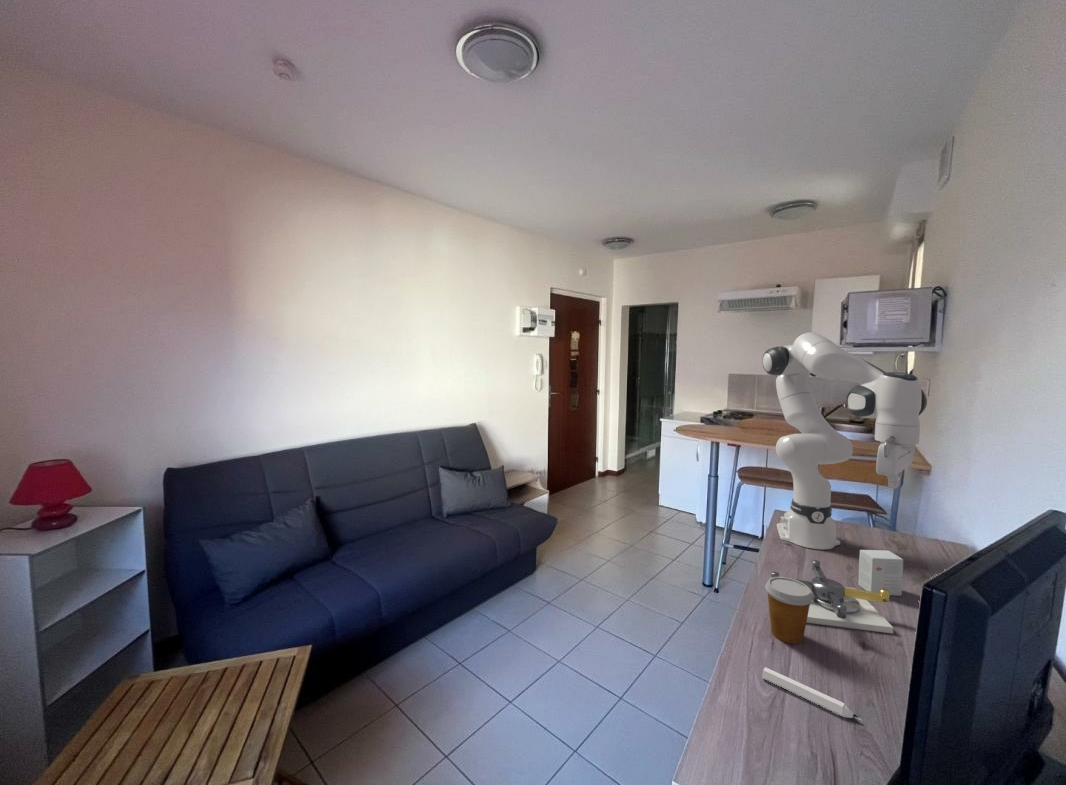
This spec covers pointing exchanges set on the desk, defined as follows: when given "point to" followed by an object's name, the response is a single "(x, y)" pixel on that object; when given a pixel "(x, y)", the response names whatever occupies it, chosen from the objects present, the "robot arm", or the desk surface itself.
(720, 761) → the desk surface
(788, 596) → the disposable coffee cup
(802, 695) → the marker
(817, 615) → the stand
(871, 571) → the small box
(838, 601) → the capstan
